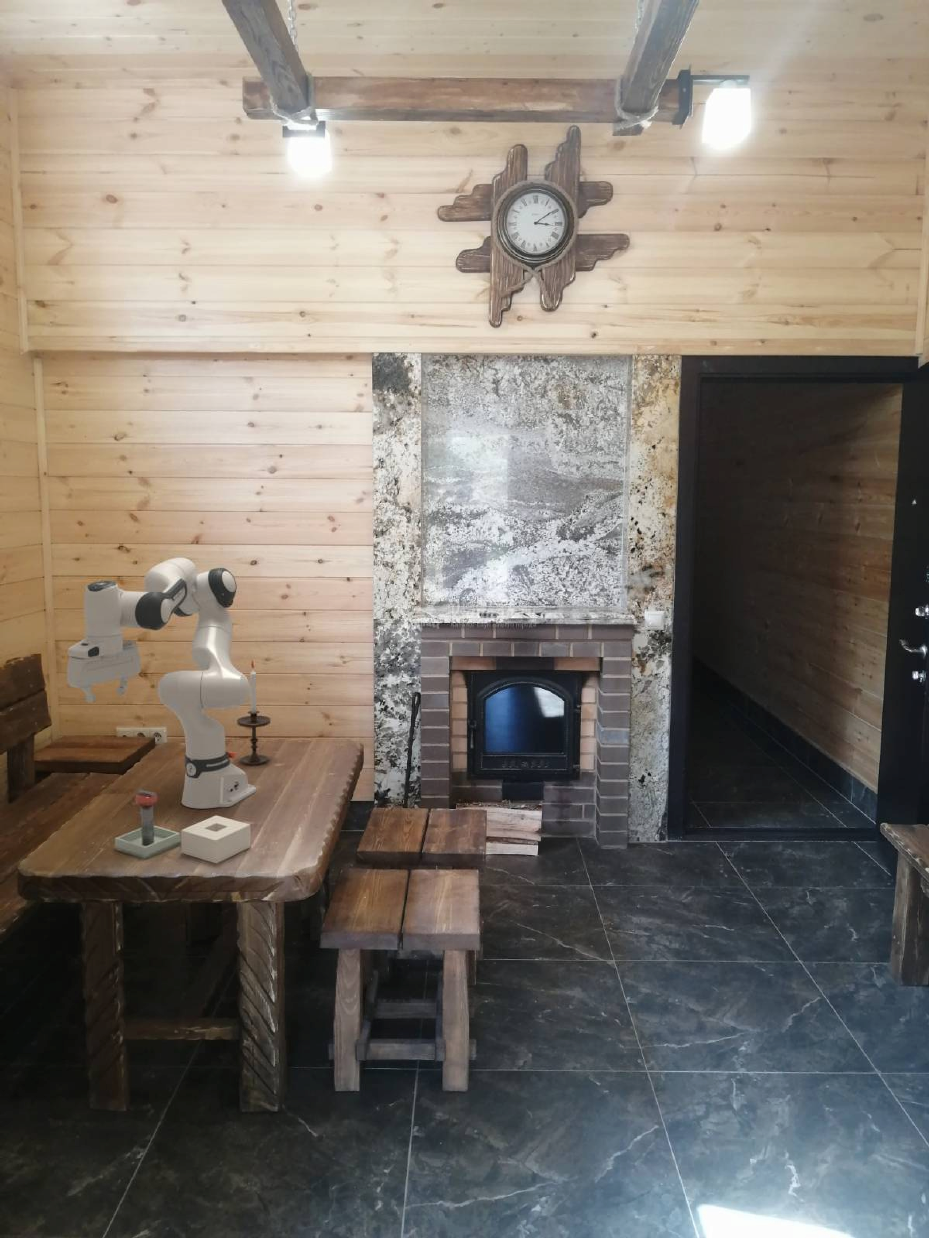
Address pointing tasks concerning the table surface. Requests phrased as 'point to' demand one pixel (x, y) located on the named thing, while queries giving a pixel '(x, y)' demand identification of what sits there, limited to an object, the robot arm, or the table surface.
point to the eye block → (215, 839)
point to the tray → (162, 842)
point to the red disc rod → (146, 815)
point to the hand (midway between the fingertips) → (106, 697)
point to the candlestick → (253, 725)
